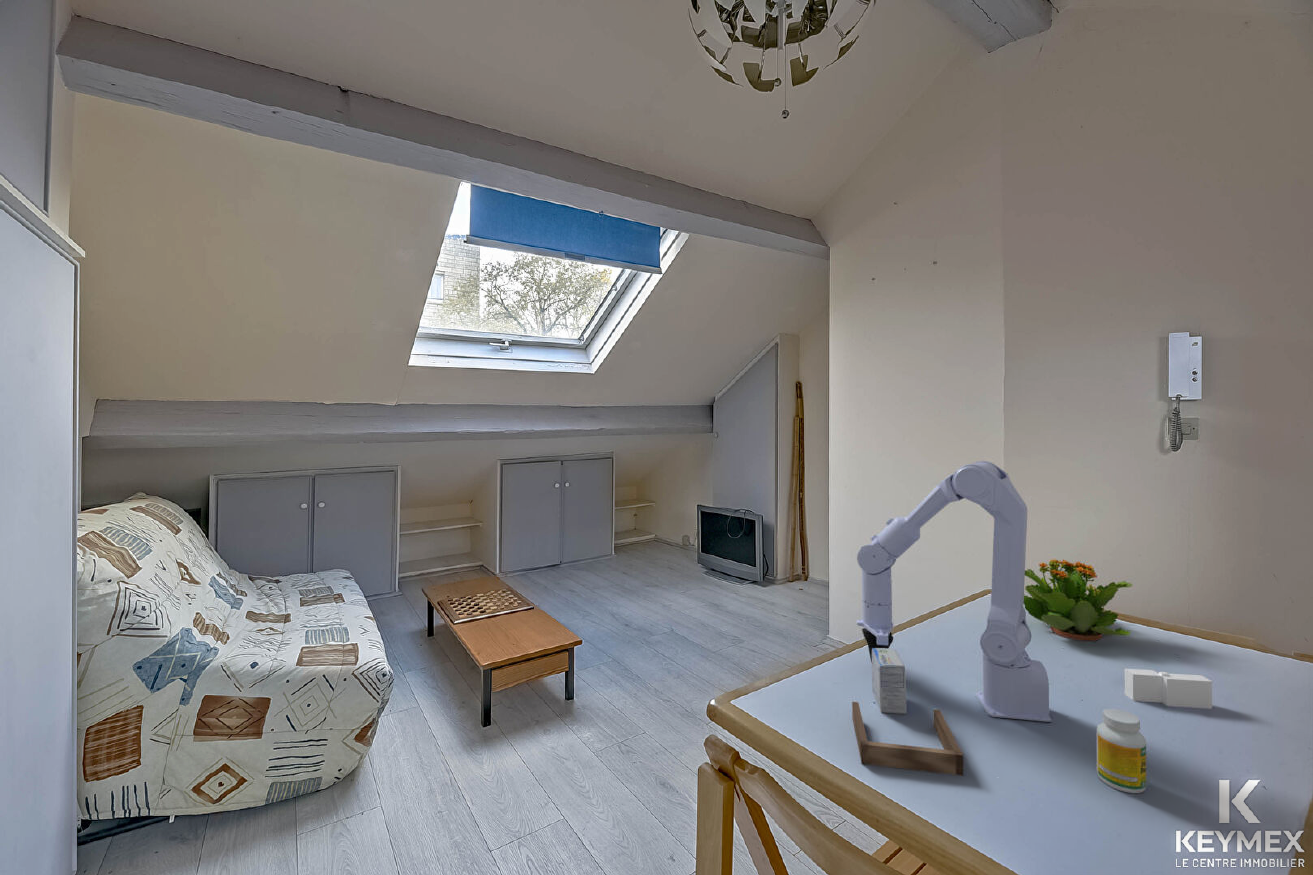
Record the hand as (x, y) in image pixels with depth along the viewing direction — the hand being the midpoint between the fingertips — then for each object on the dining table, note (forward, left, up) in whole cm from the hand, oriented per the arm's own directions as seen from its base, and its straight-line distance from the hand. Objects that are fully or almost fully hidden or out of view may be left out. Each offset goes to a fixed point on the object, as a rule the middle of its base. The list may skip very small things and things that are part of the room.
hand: (877, 666), depth 114 cm
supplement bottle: (-28, +30, -1) cm, 41 cm away
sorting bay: (0, +26, -1) cm, 26 cm away
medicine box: (0, +13, -1) cm, 13 cm away
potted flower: (-48, -29, -1) cm, 56 cm away
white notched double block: (-48, +2, -2) cm, 48 cm away
